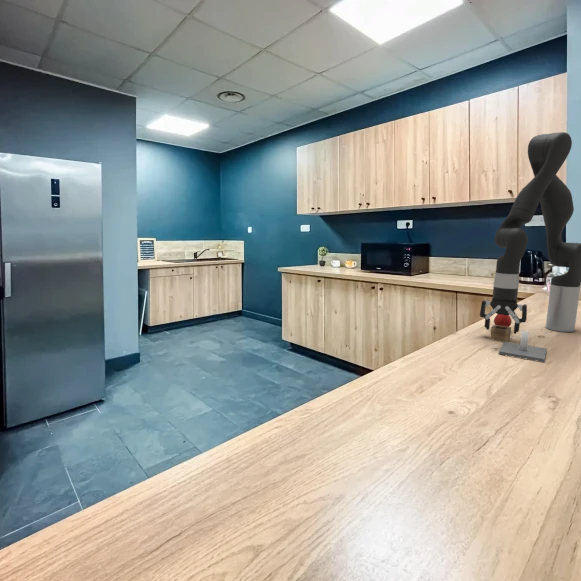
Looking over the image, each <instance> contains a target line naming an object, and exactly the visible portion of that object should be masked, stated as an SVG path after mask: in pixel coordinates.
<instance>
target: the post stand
mask: <svg viewBox="0 0 581 581" xmlns="http://www.w3.org/2000/svg"><path fill="white" fill-rule="evenodd" d="M529 333H530V332H529V331H528V330H521V332H520V342H519V343H513V342H510V341H508V342H506V341H503V342H502V345H501V346H500V349H499V350H498V355H499V354H502V355H501V356H505V355H507V356H506V357H511V356H514V357H513V358H516V357H521V358H520V359H522V358H527V359H526V360H528V359H532V360H531V361H534V360H538V361H537V362H539V361H542V362H541V363H545V361H546V355H547V347H540V346H535V345H528V343H529Z"/></svg>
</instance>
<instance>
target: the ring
mask: <svg viewBox="0 0 581 581" xmlns="http://www.w3.org/2000/svg"><path fill="white" fill-rule="evenodd" d="M511 334H512V327H511V326H509V327H506V326H499V325H495V324H493V325H492V327H491V328H490V338H489V339H490V340H493V339H494V340H495V341H499V340H500V341H499V342H510V340H511Z"/></svg>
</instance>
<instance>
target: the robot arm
mask: <svg viewBox="0 0 581 581" xmlns="http://www.w3.org/2000/svg"><path fill="white" fill-rule="evenodd" d="M572 144H573V141H572V137H571V135H570V134H569V133H568V132H565V131H564V132H563V131H562V132H561V131H560V132H559V131H558V132H552V133H544V134H543V133H542V134H538V135H535V136H533V137H532V138H531V139H530V141H529V143H528V144H527V145H528V146H527V157H528V161H529V164H530V168H531V170H532V173H533V176H534V177H533V178H532V179H531V180H530V181H529V182H528V183H526V185H525V186H524V187H523V188H522V189H520V192H518V194H517V196H516V198H515V200H514V202H513V204H512V206H511V209H510V211H509V213H508V215H507V216H506V218H505V219H504V220H503V222H502V223H501V225H500V226H499V227H498V229H497V230H496V233H495V237H494V241H495V245H496V246H497V247H498V248H500V249H505V251H504V254H503V255H500V256H499V257H498V258H497V260H496V265H495V274H494V279H493V283H492V284H493V287H492V298H491V301H490V300H487V299H483V300H482V301H481V305H480V312H479V317H481V318H483V319H484V329H486V330H487V331H489V330H490V325H491V317H493V316H494V315H495V314H496V315H497V314H499V315H501V314H503V315H507V316H508V315H509V316H510V318H511V319H512V320H513V321H514V326H513V327H514V328H513V334H514V335H515V334H517V333H519V331H520V327H521V326H520V325H521V324H522V323H526V322H527V315H528V314H527V312H528V304H526V303H525V304H518V295H519V294H518V293H519V285H520V269H521V268H520V266H521V261H522V258H523V257H524V254H525V252H526V249H527V246H528V243H529V238H528V234H527V231H525V229H523V228H522V227H523V226H525V225H526V224H528V223H530V222H531V221H532V220H533V218H534V215H535V213H536V210H537V209H538V206H539V204H540V209H541V213H542V217H543V222H544V227H545V233H546V243H547V244H546V245H547V253H548V254H547V255H548V260H549V262H550V265H552V266H554V267H559V268H560V267H561V268H568V270H567V272H566V273H563V274H561V275H554V276H552V277H551V280H550V286H549V295H548V303H547V314H546V320H545V321H546V322H545V328H546V329H548V330H550V331H555V332H561V333H562V332H564V333H572V332H575V329H576V322H577V314H578V308H579V300H580V292H581V242H564V241H563V238H562V233H563V232H564V228H565V227H566V225H567V224H568V222H570V220H571V218H572V217H573V214H574V202H573V195H572V192H571V190H570V189H569V187H568V186H567V185H566V184H565V183H564V182H563V181H562V180H561V178H560V177H559V176H558V175H557V174H558V172H559V171H560V169H561V167H562V166H563V164H564V163H565V161H566V160H567V158H568V157H569V154H570V152H571V149H572V146H573V145H572ZM489 305H490V307H491V308H492V309H491V311H490V312H488V314H487V313H486V310H487V308H488V307H489ZM517 309H519V311H520V312H521V318H519V316H518V315H517V313H516V312H515V310H517Z"/></svg>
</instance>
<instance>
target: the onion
mask: <svg viewBox="0 0 581 581" xmlns="http://www.w3.org/2000/svg"><path fill="white" fill-rule="evenodd" d="M512 320H513V319H512V317H511V316H510V315H508V316H507V315H503V314H501V315H499V314H497V313H496V315H495V316H494V319H493V323H494V325H499V326H506V327H511V325H512Z"/></svg>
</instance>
